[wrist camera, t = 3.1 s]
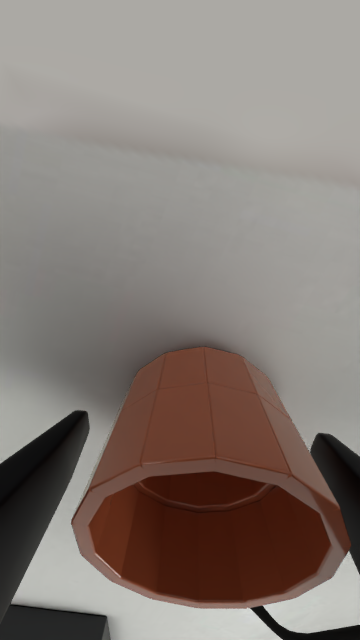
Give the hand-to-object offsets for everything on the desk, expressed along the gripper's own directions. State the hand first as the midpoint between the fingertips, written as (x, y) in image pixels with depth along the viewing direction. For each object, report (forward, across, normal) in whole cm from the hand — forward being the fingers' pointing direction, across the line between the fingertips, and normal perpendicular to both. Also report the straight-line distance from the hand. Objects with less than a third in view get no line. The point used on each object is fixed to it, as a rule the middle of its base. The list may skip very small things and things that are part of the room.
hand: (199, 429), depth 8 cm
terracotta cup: (+1, 0, 0) cm, 1 cm away
